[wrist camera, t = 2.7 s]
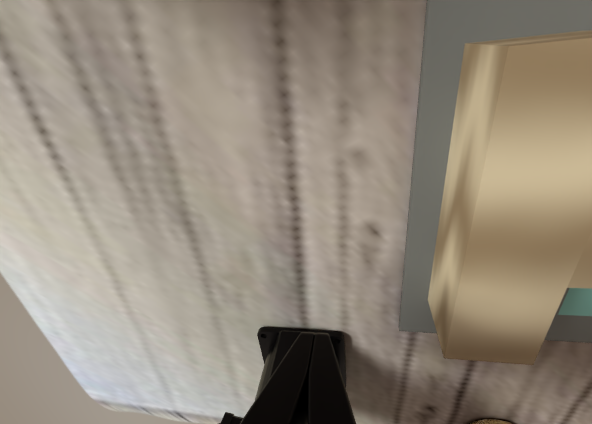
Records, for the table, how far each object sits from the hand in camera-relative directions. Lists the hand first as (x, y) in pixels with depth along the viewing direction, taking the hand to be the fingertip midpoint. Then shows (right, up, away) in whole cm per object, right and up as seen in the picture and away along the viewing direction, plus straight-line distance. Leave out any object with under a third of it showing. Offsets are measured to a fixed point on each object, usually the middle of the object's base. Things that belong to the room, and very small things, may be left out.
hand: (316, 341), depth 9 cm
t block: (+13, +5, +5) cm, 15 cm away
